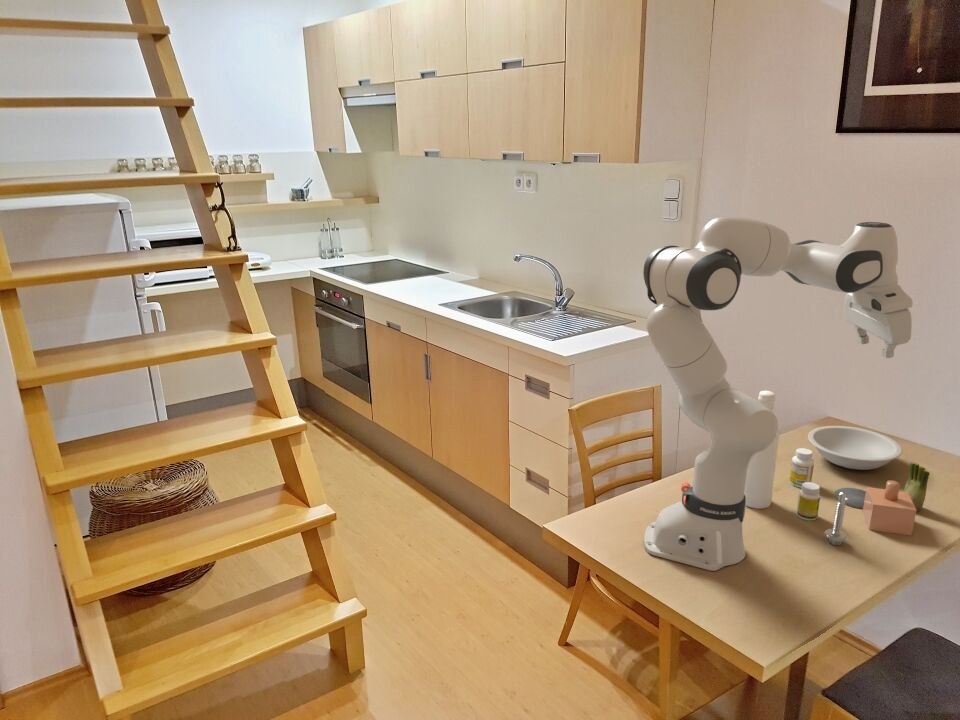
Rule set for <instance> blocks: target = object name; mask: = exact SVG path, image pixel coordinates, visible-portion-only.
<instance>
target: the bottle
mask: <svg viewBox="0 0 960 720" xmlns="http://www.w3.org/2000/svg"><path fill="white" fill-rule="evenodd" d="M757 400H758V401H760V402H761V403H762V404H763V405H765V406H766V407H767V408H768V409H769V410H770V411H771V412H772V413H773V414H774V406H775V401H776V394H775V393H774V391H770V390H760V392H759V395H758V397H757ZM779 430H780V429H779V428H778V432H777V435H776V438H775V440H774V441H773V442H772V444H771V445H770V446H769V447H768V448H766V449H765V450H763V451H761V452H758V453H756V454H755V455H754V456H753V458H752V460H751V462H750V464H749V467H748V470H747V477H746V483H745V491H744V494H745V500H746V507H749V508H752V509H759V510H760V509H766V508H769V507H770V506H771V504H772V498H773V488H774V480H775V472H776V463H777V457H778V456H777V455H778V447H779V442H780V441H779V440H780V439H779V438H780V431H779Z"/></svg>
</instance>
